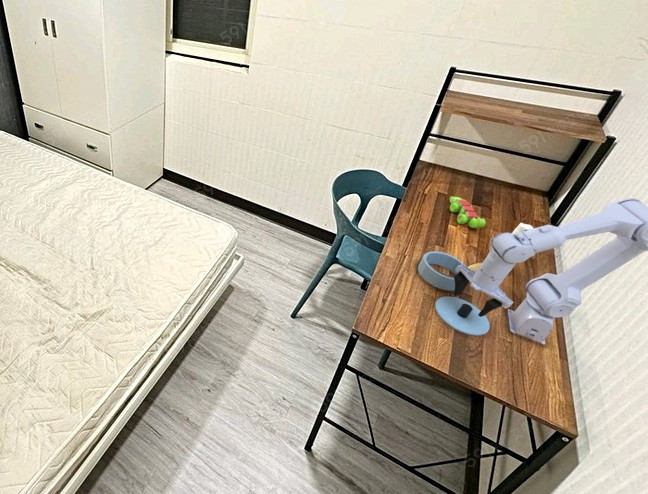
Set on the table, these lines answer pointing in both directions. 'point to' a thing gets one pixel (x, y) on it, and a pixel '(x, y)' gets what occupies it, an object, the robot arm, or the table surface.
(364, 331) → the table surface
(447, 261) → the pot
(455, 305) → the lid
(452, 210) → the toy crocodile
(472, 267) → the potato
